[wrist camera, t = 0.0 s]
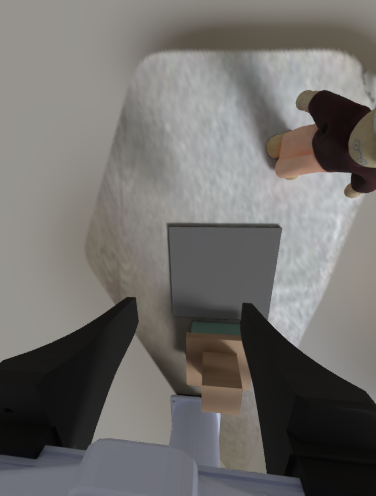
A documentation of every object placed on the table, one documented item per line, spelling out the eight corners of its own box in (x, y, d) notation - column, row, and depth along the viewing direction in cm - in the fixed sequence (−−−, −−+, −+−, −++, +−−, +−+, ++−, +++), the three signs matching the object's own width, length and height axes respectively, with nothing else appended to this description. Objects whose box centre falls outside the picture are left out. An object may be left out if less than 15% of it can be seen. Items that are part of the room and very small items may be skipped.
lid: (248, 384, 25) (257, 429, 20) (187, 379, 26) (183, 421, 21) (254, 336, 22) (266, 376, 18) (186, 332, 23) (181, 369, 18)
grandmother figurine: (247, 148, 18) (324, 87, 6) (279, 111, 17) (453, -54, 5) (301, 203, 19) (453, 240, 7) (334, 171, 18) (584, 155, 6)
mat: (266, 319, 24) (267, 321, 24) (173, 314, 25) (173, 316, 25) (280, 227, 20) (282, 228, 20) (169, 226, 21) (168, 227, 21)
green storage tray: (241, 363, 27) (244, 381, 25) (192, 360, 28) (191, 376, 25) (245, 324, 25) (249, 339, 22) (192, 321, 25) (190, 335, 23)
